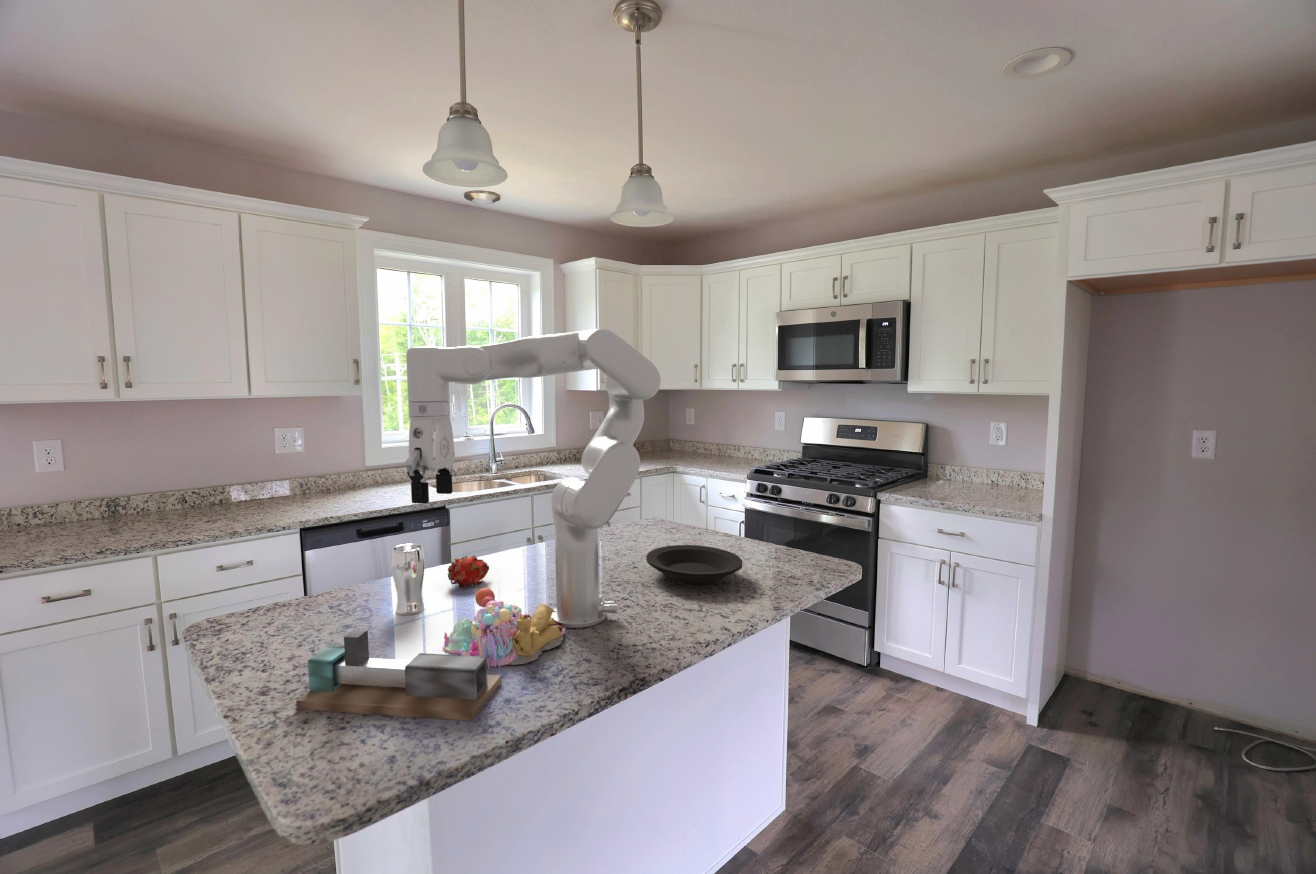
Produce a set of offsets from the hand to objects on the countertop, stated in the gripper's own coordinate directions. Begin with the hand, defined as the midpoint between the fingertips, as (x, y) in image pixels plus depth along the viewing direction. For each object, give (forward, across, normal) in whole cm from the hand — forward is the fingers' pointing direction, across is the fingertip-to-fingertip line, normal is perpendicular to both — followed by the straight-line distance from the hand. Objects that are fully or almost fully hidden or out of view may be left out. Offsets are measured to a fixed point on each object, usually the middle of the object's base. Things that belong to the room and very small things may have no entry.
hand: (432, 498), depth 121 cm
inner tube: (+28, -19, +1) cm, 34 cm away
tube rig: (+30, -19, -3) cm, 36 cm away
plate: (+31, +48, -48) cm, 74 cm away
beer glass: (+31, +18, +16) cm, 39 cm away
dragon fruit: (+31, +37, +10) cm, 49 cm away
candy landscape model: (+31, +4, -12) cm, 33 cm away
